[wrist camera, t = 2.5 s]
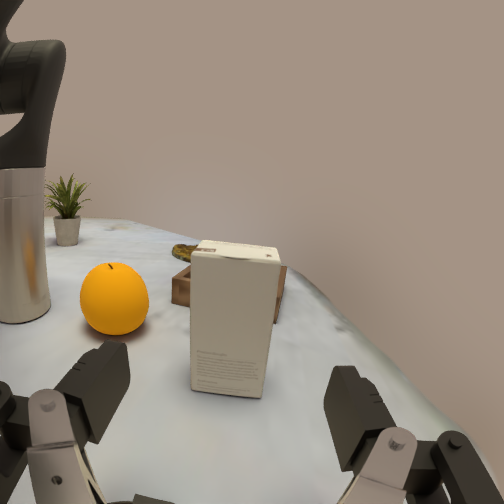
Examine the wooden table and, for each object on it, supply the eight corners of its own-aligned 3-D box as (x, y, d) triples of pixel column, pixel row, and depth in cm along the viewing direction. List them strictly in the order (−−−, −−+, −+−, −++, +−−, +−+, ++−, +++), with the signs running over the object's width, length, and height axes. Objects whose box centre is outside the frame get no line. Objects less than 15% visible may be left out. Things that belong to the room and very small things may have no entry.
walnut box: (171, 303, 38) (172, 277, 37) (204, 273, 51) (206, 253, 50) (275, 323, 36) (280, 297, 35) (283, 286, 49) (287, 266, 48)
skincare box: (261, 370, 26) (280, 245, 23) (261, 402, 21) (286, 261, 19) (196, 362, 26) (202, 236, 23) (186, 393, 21) (190, 249, 18)
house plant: (41, 237, 60) (41, 173, 56) (89, 234, 68) (91, 172, 64) (36, 251, 49) (36, 173, 45) (94, 248, 57) (96, 173, 53)
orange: (158, 340, 28) (157, 273, 27) (86, 349, 24) (77, 279, 22) (140, 308, 35) (139, 251, 33) (81, 313, 30) (76, 254, 29)
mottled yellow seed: (159, 259, 60) (215, 276, 54) (157, 238, 59) (216, 252, 52) (186, 247, 68) (241, 261, 62) (186, 228, 66) (242, 240, 60)
